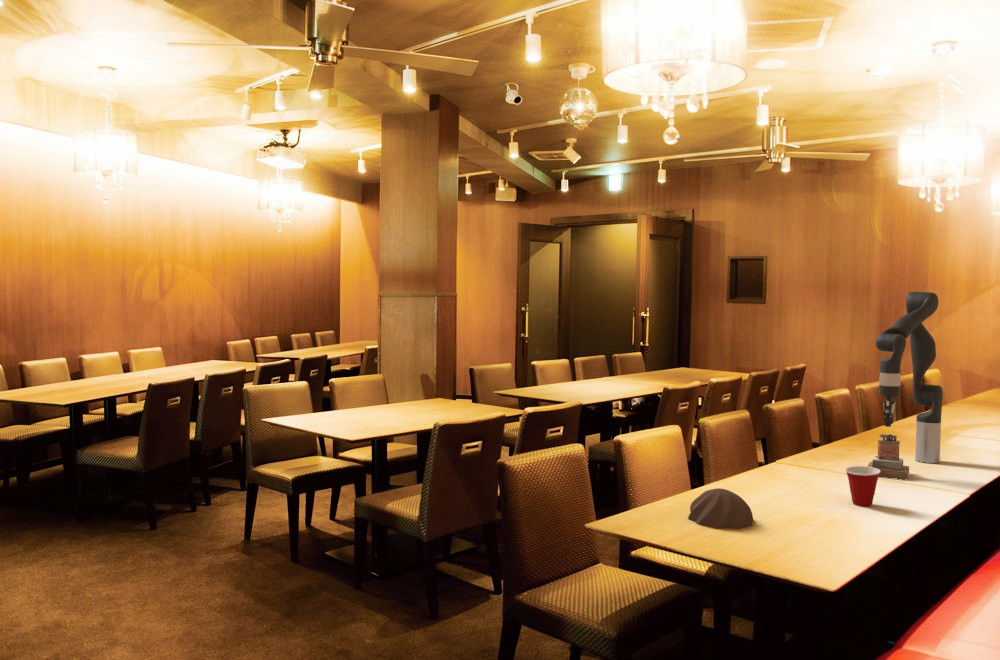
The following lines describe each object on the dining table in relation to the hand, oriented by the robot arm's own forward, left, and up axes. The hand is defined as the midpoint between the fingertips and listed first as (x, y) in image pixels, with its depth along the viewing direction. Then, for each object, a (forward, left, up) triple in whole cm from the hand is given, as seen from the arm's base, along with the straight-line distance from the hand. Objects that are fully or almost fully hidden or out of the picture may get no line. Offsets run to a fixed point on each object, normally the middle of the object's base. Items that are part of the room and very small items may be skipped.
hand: (888, 425), depth 294 cm
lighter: (0, 0, -14) cm, 14 cm away
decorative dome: (+101, -37, -20) cm, 110 cm away
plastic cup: (+56, -3, -20) cm, 60 cm away
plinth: (0, 0, -20) cm, 20 cm away
